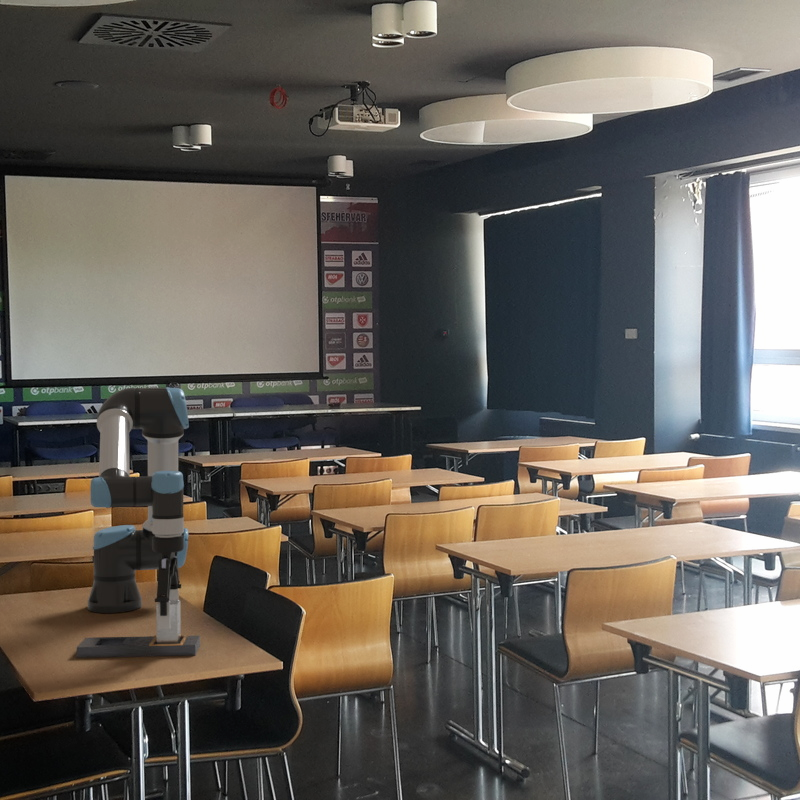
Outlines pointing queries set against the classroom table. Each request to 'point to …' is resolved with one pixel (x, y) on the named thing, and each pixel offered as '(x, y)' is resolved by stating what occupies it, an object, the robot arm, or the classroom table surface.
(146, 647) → the peg insertion base
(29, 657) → the classroom table surface
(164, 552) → the robot arm
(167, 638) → the square gray post
